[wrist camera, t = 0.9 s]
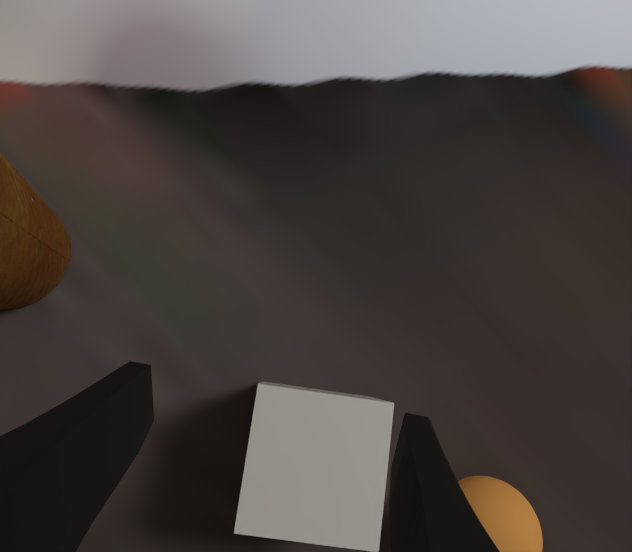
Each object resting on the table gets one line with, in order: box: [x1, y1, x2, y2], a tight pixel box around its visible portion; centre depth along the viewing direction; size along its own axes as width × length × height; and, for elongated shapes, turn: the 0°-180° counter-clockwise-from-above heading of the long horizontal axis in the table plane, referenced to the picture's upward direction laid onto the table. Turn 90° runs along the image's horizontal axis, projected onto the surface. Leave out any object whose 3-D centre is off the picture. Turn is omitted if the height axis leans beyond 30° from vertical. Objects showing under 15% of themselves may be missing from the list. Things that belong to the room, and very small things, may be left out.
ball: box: [458, 476, 543, 552], centre depth 24 cm, size 5×5×5 cm
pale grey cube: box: [234, 381, 394, 552], centre depth 23 cm, size 6×6×6 cm
